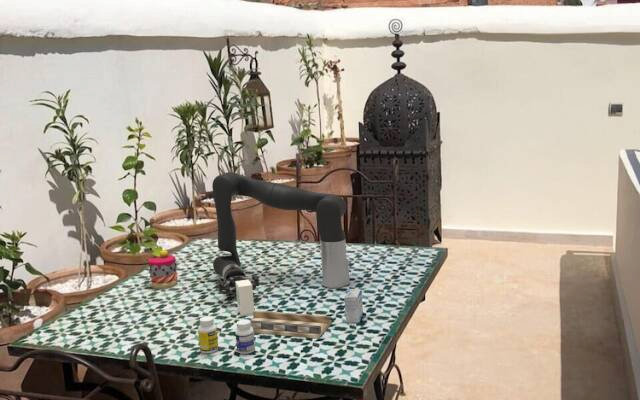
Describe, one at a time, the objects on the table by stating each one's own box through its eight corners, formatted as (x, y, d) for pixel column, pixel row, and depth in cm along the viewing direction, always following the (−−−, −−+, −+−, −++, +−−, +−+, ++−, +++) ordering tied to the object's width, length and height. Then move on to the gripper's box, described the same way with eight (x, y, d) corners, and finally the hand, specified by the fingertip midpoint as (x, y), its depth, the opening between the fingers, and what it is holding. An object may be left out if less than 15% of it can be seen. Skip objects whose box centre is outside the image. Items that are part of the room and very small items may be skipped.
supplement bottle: (210, 355, 194) (207, 323, 192) (196, 352, 197) (192, 320, 195) (222, 348, 199) (219, 316, 197) (208, 345, 201) (205, 314, 200)
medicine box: (359, 323, 211) (358, 296, 209) (345, 323, 212) (344, 296, 210) (363, 314, 219) (361, 288, 217) (349, 313, 219) (348, 288, 218)
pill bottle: (237, 347, 198) (234, 319, 196) (255, 346, 199) (252, 317, 197) (236, 355, 193) (234, 326, 191) (255, 353, 193) (252, 324, 192)
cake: (183, 281, 264) (179, 244, 261) (167, 290, 255) (162, 252, 252) (162, 279, 268) (158, 243, 266) (145, 288, 259) (140, 250, 256)
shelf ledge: (331, 323, 212) (331, 314, 212) (318, 338, 201) (317, 329, 201) (256, 317, 221) (256, 308, 221) (240, 331, 210) (239, 322, 210)
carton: (250, 307, 231) (248, 279, 229) (254, 313, 225) (252, 284, 223) (237, 309, 230) (235, 281, 228) (241, 315, 224) (238, 286, 222)
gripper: (213, 269, 244) (219, 281, 229) (252, 263, 248) (261, 275, 233) (215, 288, 246) (221, 302, 231) (253, 283, 250) (262, 296, 234)
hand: (241, 289), depth 232 cm, fingers open, 8 cm apart
